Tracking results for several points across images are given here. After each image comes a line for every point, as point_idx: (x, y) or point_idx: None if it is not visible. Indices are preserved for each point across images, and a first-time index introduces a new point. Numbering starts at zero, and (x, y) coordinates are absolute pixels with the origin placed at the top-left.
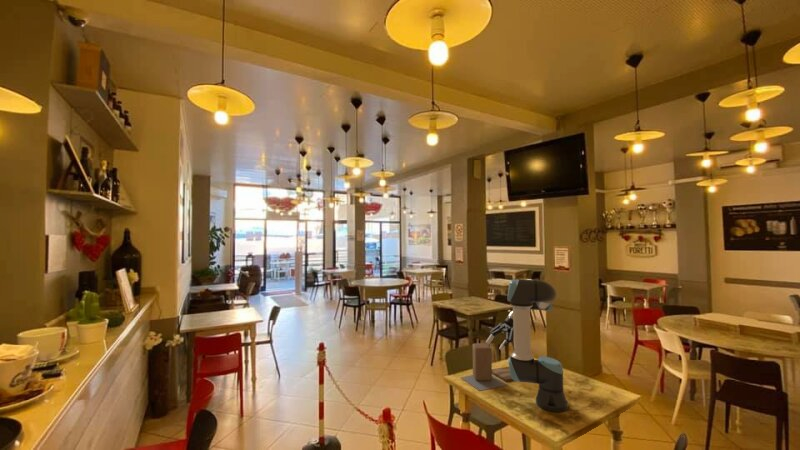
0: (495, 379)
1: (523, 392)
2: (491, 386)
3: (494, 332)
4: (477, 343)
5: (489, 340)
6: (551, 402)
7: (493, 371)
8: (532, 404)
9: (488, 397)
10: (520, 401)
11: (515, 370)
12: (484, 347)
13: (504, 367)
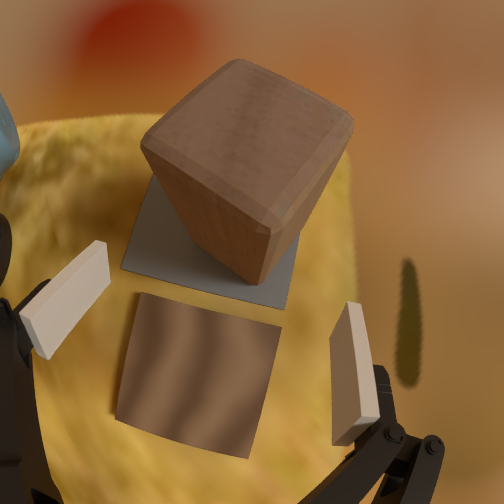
0: (192, 271)
1: (53, 262)
2: (159, 195)
3: (344, 467)
4: (324, 133)
5: (342, 352)
6: None
7: (251, 328)
8: (15, 211)
9: (123, 129)
10: (41, 195)
11: None
12: (188, 100)
13: (253, 427)
